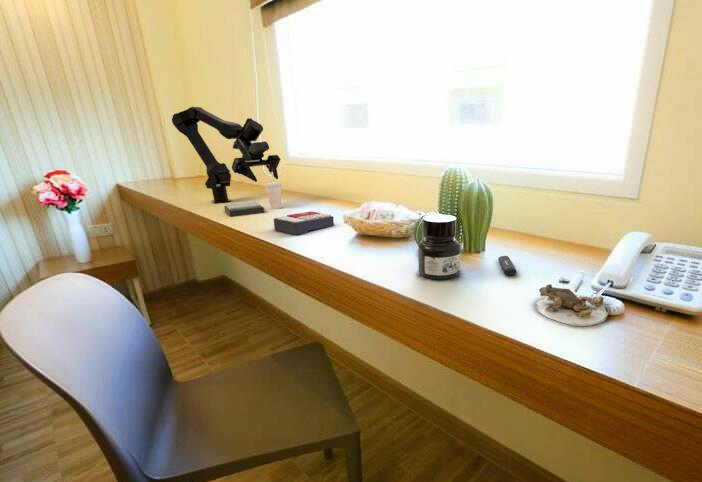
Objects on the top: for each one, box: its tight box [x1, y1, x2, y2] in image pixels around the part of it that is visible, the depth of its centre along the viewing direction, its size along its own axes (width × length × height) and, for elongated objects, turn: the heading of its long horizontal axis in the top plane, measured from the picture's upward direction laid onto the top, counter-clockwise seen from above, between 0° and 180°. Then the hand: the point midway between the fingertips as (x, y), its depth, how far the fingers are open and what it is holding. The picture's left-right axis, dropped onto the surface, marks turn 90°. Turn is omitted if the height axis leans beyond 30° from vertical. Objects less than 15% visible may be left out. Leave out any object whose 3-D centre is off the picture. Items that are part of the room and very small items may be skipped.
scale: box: [223, 200, 265, 217], centre depth 149 cm, size 12×12×3 cm
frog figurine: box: [535, 284, 609, 327], centre depth 66 cm, size 12×12×4 cm
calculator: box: [273, 211, 335, 236], centre depth 123 cm, size 11×4×15 cm
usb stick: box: [498, 255, 517, 276], centre depth 86 cm, size 10×3×2 cm, turn 176°
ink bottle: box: [417, 214, 462, 281], centre depth 82 cm, size 10×9×12 cm
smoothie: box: [263, 172, 282, 210], centre depth 153 cm, size 6×6×14 cm
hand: (267, 179), depth 154 cm, fingers open, 9 cm apart
